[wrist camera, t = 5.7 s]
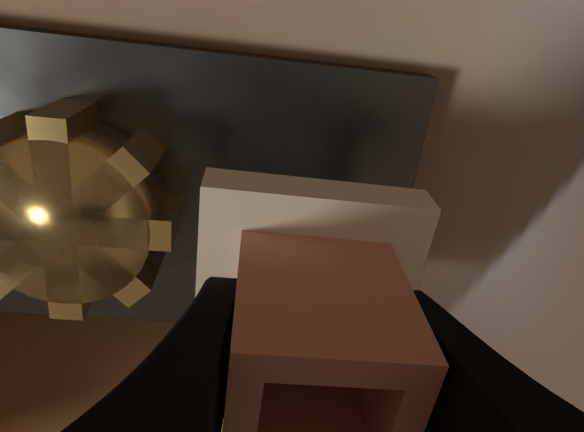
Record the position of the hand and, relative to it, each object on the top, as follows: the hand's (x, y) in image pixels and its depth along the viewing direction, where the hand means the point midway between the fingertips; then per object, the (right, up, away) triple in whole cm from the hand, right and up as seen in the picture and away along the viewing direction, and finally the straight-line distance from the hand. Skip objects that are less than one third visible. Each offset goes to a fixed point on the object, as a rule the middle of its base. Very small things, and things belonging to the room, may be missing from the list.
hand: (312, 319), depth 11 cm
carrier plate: (-7, +4, +6) cm, 10 cm away
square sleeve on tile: (0, +1, +2) cm, 2 cm away
